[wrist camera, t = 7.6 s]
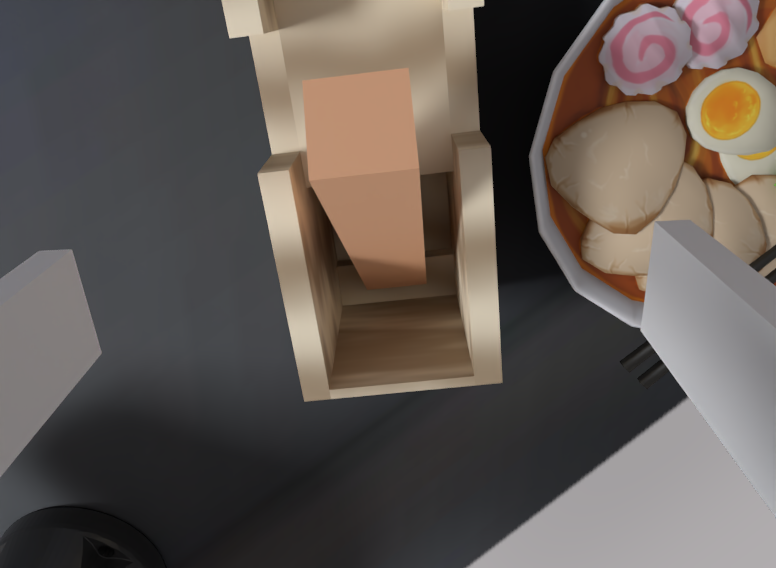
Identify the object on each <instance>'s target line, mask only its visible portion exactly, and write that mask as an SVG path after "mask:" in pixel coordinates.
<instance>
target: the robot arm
mask: <svg viewBox="0 0 776 568" xmlns="http://www.w3.org/2000/svg"><path fill="white" fill-rule="evenodd" d="M641 332H642V333H643V335H644V336H645V337H646V339H647V340H648V342H649V343H650V344H651V346H652V347H653V349H654V350H655V351H656V353H657V354H658V355H659V357H660V358H661V360H662V361H663V362H664V364H665V365H666V367H667V368H668V369H669V371H670V372H671V373H672V375H673V376H674V378H675V379H676V380H677V382H678V383H679V385H680V386H681V387H682V389H683V390H684V391H685V393H686V394H687V396H688V397H689V398H690V400H691V401H692V403H693V404H694V405H695V407H696V408H697V409H698V411H699V412H700V414H701V415H702V416H703V418H704V419H705V421H706V422H707V423H708V425H709V426H710V427H711V429H712V430H713V432H714V433H715V434H716V436H717V437H718V439H719V440H720V441H721V443H722V444H723V445H724V447H725V448H726V450H727V451H728V452H729V454H730V455H731V457H732V458H733V459H734V460H735V462H736V463H737V465H738V466H739V468H740V469H741V470H742V472H743V473H744V475H745V476H746V477H747V479H748V480H749V481H750V483H751V484H752V486H753V487H754V488H755V490H756V491H757V492H758V494H759V495H760V496H761V498H762V499H763V501H764V502H765V504H766V505H767V506H768V508H769V509H770V511H771V512H772V513H773V515H774V516H775V518H776V286H775V285H774V284H772V283H771V282H770V281H768V280H767V279H766V278H765V277H763V276H762V275H761V274H759V273H758V272H757V271H756V270H754V269H753V268H752V267H750V266H749V265H748V264H747V263H745V262H744V261H743V260H741V259H740V258H739V257H737V256H736V255H735V254H734V253H732V252H731V251H730V250H728V249H727V248H726V247H725V246H723V245H722V244H721V243H719V242H718V241H717V240H715V239H714V238H713V237H712V236H710V235H709V234H708V233H706V232H705V231H704V230H703V229H701V228H700V227H699V226H697V225H696V224H695V223H694V222H692V221H691V220H672V221H655V222H654V230H653V238H652V245H651V253H650V261H649V269H648V276H647V284H646V292H645V300H644V307H643V315H642V323H641ZM101 354H102V352H101V349H100V345H99V342H98V338H97V335H96V332H95V328H94V325H93V321H92V318H91V314H90V311H89V307H88V304H87V300H86V297H85V293H84V290H83V286H82V283H81V279H80V276H79V272H78V269H77V265H76V262H75V258H74V255H73V252H72V249H69V250H48V251H38V252H37V253H35V254H34V255H33V256H31V257H30V258H29V259H27V260H26V261H24V262H23V263H22V264H20V265H19V266H17V267H16V268H15V269H13V270H12V271H11V272H9V273H8V274H6V275H5V276H4V277H2V278H1V279H0V477H1V476H2V474H3V473H4V472H5V471H6V470H7V468H8V467H9V466H10V465H11V463H12V462H13V461H14V460H15V459H16V457H17V456H18V455H19V454H20V452H21V451H22V450H23V449H24V448H25V446H26V445H27V444H28V443H29V441H30V440H31V439H32V438H33V437H34V435H35V434H36V433H37V432H38V430H39V429H40V428H41V427H42V426H43V424H44V423H45V422H46V421H47V419H48V418H49V417H50V416H51V415H52V413H53V412H54V411H55V410H56V409H57V407H58V406H59V405H60V404H61V402H62V401H63V400H64V399H65V398H66V396H67V395H68V394H69V393H70V391H71V390H72V389H73V388H74V387H75V385H76V384H77V383H78V382H79V380H80V379H81V378H82V377H83V376H84V374H85V373H86V372H87V371H88V369H89V368H90V367H91V366H92V365H93V363H94V362H95V361H96V360H97V358H98V357H99V356H100V355H101ZM0 568H166V567H165V564H164V562H163V559H162V558H161V556H160V554H159V552H158V551H157V549H156V548H155V547H154V546H153V544H152V543H151V542H150V541H149V540H148V539H147V538H146V537H145V536H144V535H142V534H141V533H140V532H139V531H137V530H136V529H134V528H133V527H131V526H130V525H128V524H126V523H125V522H123V521H121V520H119V519H117V518H114V517H112V516H109V515H106V514H103V513H100V512H97V511H92V510H88V509H82V508H70V507H60V508H49V509H44V510H40V511H36V512H33V513H30V514H28V515H26V516H24V517H22V518H20V519H19V520H17V521H16V522H15V523H13V524H12V525H11V526H10V527H9V528H8V529H7V530H6V532H5V533H4V535H3V536H2V537H1V539H0Z"/></svg>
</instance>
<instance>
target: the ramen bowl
mask: <svg viewBox="0 0 776 568" xmlns="http://www.w3.org/2000/svg"><path fill="white" fill-rule="evenodd" d="M529 163H530V170H531V178H532V185H533V193H534V201H535V208H536V216H537V224H538V231H539V234H540V235H541V237H542V239H543V240H544V242H545V243H546V245H547V247H548V248H549V250H550V252H551V253H552V255H553V257H554V258H555V260H556V261H557V263H558V265H559V266H560V268H561V270H562V271H563V273H564V274H565V276H566V278H567V279H568V281H569V283H570V284H571V286H572V287H573V289H574V291H576V292H577V293H579V294H580V295H582V296H584V297H585V298H587V299H588V300H590V301H592V302H593V303H595V304H596V305H598V306H600V307H601V308H603V309H604V310H606V311H608V312H609V313H611V314H612V315H614V316H616V317H617V318H619V319H620V320H622V321H624V322H625V323H627V324H628V325H630V326H632V327H637V328H641V323H642V315H643V307H644V300H645V292H646V284H647V276H648V269H649V261H650V253H651V245H652V238H653V230H654V222H655V221H672V220H691V221H692V222H694V223H695V224H696V225H697V226H699V227H700V228H701V229H703V230H704V231H705V232H706V233H708V234H709V235H710V236H712V237H713V238H714V239H715V240H717V241H718V242H719V243H721V244H722V245H723V246H725V247H726V248H727V249H728V250H730V251H731V252H732V253H734V254H735V255H736V256H737V257H739V258H740V259H741V260H743V261H744V262H745V263H747V264H748V265H749V266H750V267H752V268H753V269H754V270H756V271H757V272H758V273H759V274H761V275H762V276H763V277H765V278H766V279H767V280H768V281H770V282H771V283H772V284H774V285H775V286H776V0H603V2H602V3H601V5H600V6H599V7H598V9H597V10H596V12H595V13H594V14H593V16H592V17H591V19H590V20H589V22H588V23H587V24H586V26H585V27H584V29H583V30H582V31H581V33H580V34H579V36H578V37H577V38H576V40H575V41H574V43H573V44H572V45H571V47H570V48H569V50H568V51H567V53H566V54H565V55H564V57H563V58H562V60H561V61H560V62H559V64H558V65H557V67H556V68H555V69H554V71H553V73H552V77H551V80H550V84H549V87H548V91H547V94H546V98H545V101H544V105H543V108H542V112H541V115H540V119H539V122H538V126H537V129H536V133H535V136H534V140H533V143H532V147H531V150H530V154H529ZM655 352H656V351H655V350H654V349H653V347H652V346H651V344H650V343H649V342H648V341H646V342H645V343H644V344H642V345H641V346H640V347H638V348H637V349H636V350H634V351H633V352H632V353H630V354H629V355H628V356H626V357H625V358H624V359H622V360H621V361H620V362H621V364H622V365H623V367H624V368H625V369H626V370H627V371H628V372H631V371H632V370H633V369H634V368H636V367H637V366H638V365H640V364H641V363H642V362H643V361H645V360H646V359H647V358H648V357H650V356H651V355H652V354H654V353H655ZM668 371H669V369H668V368H667V367H666V365H665V364H664V362H663V361H662V360H660V361H658V362H657V363H656V364H655V365H653V366H652V367H651V368H650V369H648V370H647V371H646V372H645V373H643V374H642V375H641V376H640V377H638V378H637V379H638V380H639V382H640V383H641V384H642V385H643V386H644V387H645V388H646V389H648V388H649V387H650V386H652V385H653V384H654V383H655V382H656V381H658V380H659V379H660V378H661V377H662V376H664V375H665V374H666V373H667V372H668Z"/></svg>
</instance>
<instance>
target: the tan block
mask: <svg viewBox="0 0 776 568" xmlns="http://www.w3.org/2000/svg"><path fill="white" fill-rule="evenodd" d="M302 85H303V100H304V115H305V130H306V145H307V160H308V175H309V182H310V184H311V186H312V188H313V189H314V191H315V193H316V195H317V197H318V199H319V201H320V202H321V204H322V206H323V208H324V210H325V212H326V214H327V216H328V217H329V219H330V221H331V223H332V225H333V227H334V229H335V231H336V232H337V234H338V236H339V238H340V240H341V242H342V244H343V246H344V247H345V249H346V251H347V253H348V255H349V257H350V259H351V260H352V262H353V264H354V266H355V268H356V270H357V272H358V274H359V275H360V277H361V279H362V281H363V283H364V285H365V287H366V289H367V290H373V289H382V288H392V287H402V286H411V285H421V284H427V281H426V266H425V250H424V234H423V219H422V203H421V187H420V171H419V161H418V152H417V142H416V133H415V124H414V114H413V105H412V96H411V86H410V77H409V68H401V69H393V70H385V71H377V72H368V73H360V74H352V75H344V76H336V77H327V78H319V79H311V80H303V81H302Z"/></svg>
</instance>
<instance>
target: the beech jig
mask: <svg viewBox="0 0 776 568" xmlns="http://www.w3.org/2000/svg"><path fill="white" fill-rule="evenodd" d="M222 4H223V9H224V14H225V19H226V24H227V29H228V34H229V38H236V37H244V36H249V38H250V43H251V48H252V53H253V58H254V64H255V69H256V74H257V79H258V84H259V89H260V95H261V100H262V105H263V110H264V115H265V120H266V126H267V131H268V136H269V141H270V146H271V151H272V155H271V157H270V158H269V159H268V161H267V162H266V163H265V164H264V166H263V167H262V168H261V170H260V171H259V172H258V179H259V184H260V189H261V194H262V198H263V203H264V208H265V213H266V218H267V223H268V227H269V232H270V237H271V242H272V247H273V252H274V257H275V261H276V266H277V271H278V276H279V281H280V286H281V291H282V295H283V300H284V305H285V310H286V315H287V320H288V324H289V329H290V334H291V339H292V344H293V349H294V354H295V358H296V363H297V368H298V373H299V378H300V383H301V388H302V392H303V397H304V402H305V401H315V400H326V399H337V398H347V397H358V396H368V395H379V394H390V393H400V392H411V391H421V390H432V389H443V388H453V387H464V386H474V385H485V384H495V383H502V364H501V343H500V323H499V302H498V281H497V261H496V240H495V219H494V198H493V178H492V157H491V146H490V145H489V143H488V142H487V140H486V139H485V137H484V136H483V134H482V133H481V131H480V122H479V104H478V86H477V68H476V50H475V32H474V13H473V7H481V6H484V0H222ZM401 68H409V77H410V86H411V96H412V105H413V114H414V124H415V133H416V142H417V152H418V161H419V171H420V187H421V203H422V219H423V234H424V250H425V266H426V281H427V284H421V285H411V286H402V287H392V288H382V289H373V290H367V289H366V287H365V285H364V283H363V281H362V279H361V277H360V275H359V274H358V272H357V270H356V268H355V266H354V264H353V262H352V260H351V259H350V257H349V255H348V253H347V251H346V249H345V247H344V246H343V244H342V242H341V240H340V238H339V236H338V234H337V232H336V231H335V229H334V227H333V225H332V223H331V221H330V219H329V217H328V216H327V214H326V212H325V210H324V208H323V206H322V204H321V202H320V201H319V199H318V197H317V195H316V193H315V191H314V189H313V188H312V186H311V184H310V182H309V175H308V160H307V145H306V130H305V115H304V100H303V85H302V81H303V80H311V79H319V78H327V77H336V76H344V75H352V74H360V73H368V72H377V71H385V70H393V69H401Z"/></svg>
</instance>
